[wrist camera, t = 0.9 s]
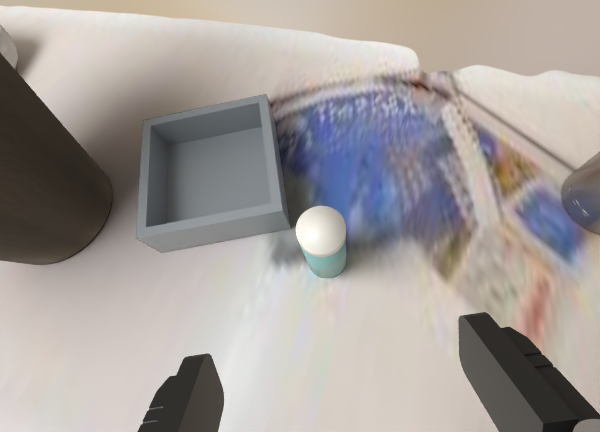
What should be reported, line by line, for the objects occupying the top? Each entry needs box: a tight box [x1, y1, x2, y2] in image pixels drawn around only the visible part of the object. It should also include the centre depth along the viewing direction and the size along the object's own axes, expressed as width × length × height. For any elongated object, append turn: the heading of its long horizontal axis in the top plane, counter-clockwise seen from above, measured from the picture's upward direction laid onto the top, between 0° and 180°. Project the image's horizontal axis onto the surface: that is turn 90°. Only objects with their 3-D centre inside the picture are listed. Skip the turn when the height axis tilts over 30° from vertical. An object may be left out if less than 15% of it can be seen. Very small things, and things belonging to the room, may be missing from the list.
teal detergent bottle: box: [296, 206, 346, 278], centre depth 37 cm, size 5×5×11 cm
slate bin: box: [136, 94, 291, 253], centre depth 45 cm, size 18×18×6 cm
